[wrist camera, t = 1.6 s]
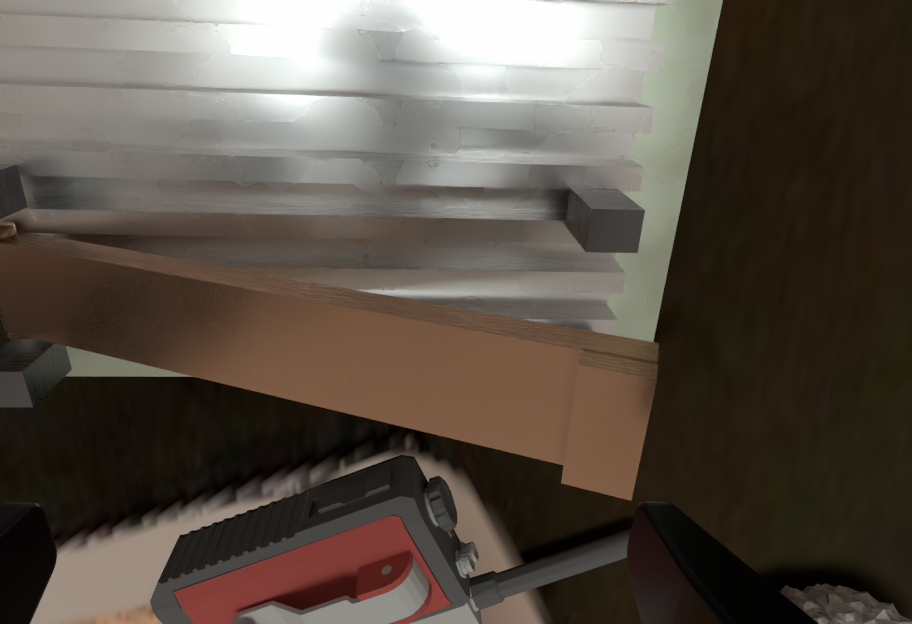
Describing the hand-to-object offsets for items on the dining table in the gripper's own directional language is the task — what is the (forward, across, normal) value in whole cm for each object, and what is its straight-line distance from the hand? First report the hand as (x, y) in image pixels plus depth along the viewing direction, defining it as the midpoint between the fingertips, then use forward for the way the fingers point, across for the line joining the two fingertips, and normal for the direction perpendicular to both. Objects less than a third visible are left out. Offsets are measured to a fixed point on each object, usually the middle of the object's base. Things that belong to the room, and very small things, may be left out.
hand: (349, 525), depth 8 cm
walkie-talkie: (+14, 0, +14) cm, 20 cm away
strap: (+6, +2, 0) cm, 6 cm away
